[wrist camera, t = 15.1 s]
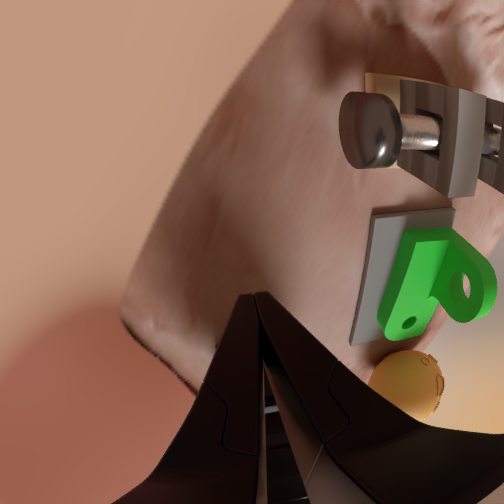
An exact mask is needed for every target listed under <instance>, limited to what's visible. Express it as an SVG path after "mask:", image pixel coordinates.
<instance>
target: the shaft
mask: <svg viewBox="0 0 504 504" xmlns="http://www.w3.org/2000/svg"><path fill="white" fill-rule="evenodd" d="M442 125H443V118H439V117H431V116H423V115H414V114H403V113H398V110H397V108H396V106H395V104H394V103H393V101H392V100H391V99H390V98H389V97H388V96H386V95H384V94H380V93H368V92H349V93H348V94H347V95H346V96H345V97H344V99H343V101H342V104H341V107H340V113H339V134H340V140H341V145H342V148H343V151H344V154H345V156H346V158H347V160H348V162H349V163H350V164H351V166H353V167H354V168H356V169H369V168H388V167H390V166H392V165H393V164H394V163H395V162H396V160H397V158H398V156H399V154H400V150H401V149H415V150H440V148H441V138H442ZM501 130H502V129H499V128H495V127H490V126H484V137H483V146H482V153H481V154H490V155H499V147H500V139H501Z"/></svg>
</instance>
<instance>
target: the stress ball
mask: <svg viewBox="0 0 504 504" xmlns="http://www.w3.org/2000/svg"><path fill="white" fill-rule="evenodd" d="M368 386H369V387H371V388H372V389H373V390H374V391H376V392H377V393H379V394H380V395H381V396H383V397H384V398H386V399H387V400H388V401H390V402H391V403H393V404H394V405H395V406H397V407H398V408H400V409H401V410H403V411H404V412H405V413H407V414H408V415H410V416H411V417H413V418H414V419H416V420H418V421H420V422H421V421H423V420H424V419H426V418H427V417H428V416H429V415H430V414H431V413H432V412H434V411H435V410H436V408H437V407H438V405H439V403H440V402H439V401H440V398H441V395H442V393H443V390H444V378H443V376H442V373H441V370H440V368H439V366H438V365H437V361H436V359H434V358H433V357H432V356H431V355H430V354H429V355H426V354H425V353H423V352H419V351H414V350H405V351H400V352H397V353H396V352H395V353H391V354H389V355H388V356H386V357H385V358H384V359H382V361H381V363H380V364H379V365H378V366H377V367H376V368H375V370H374V371H373V373H372V375H371V377H370V379H369V382H368Z"/></svg>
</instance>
